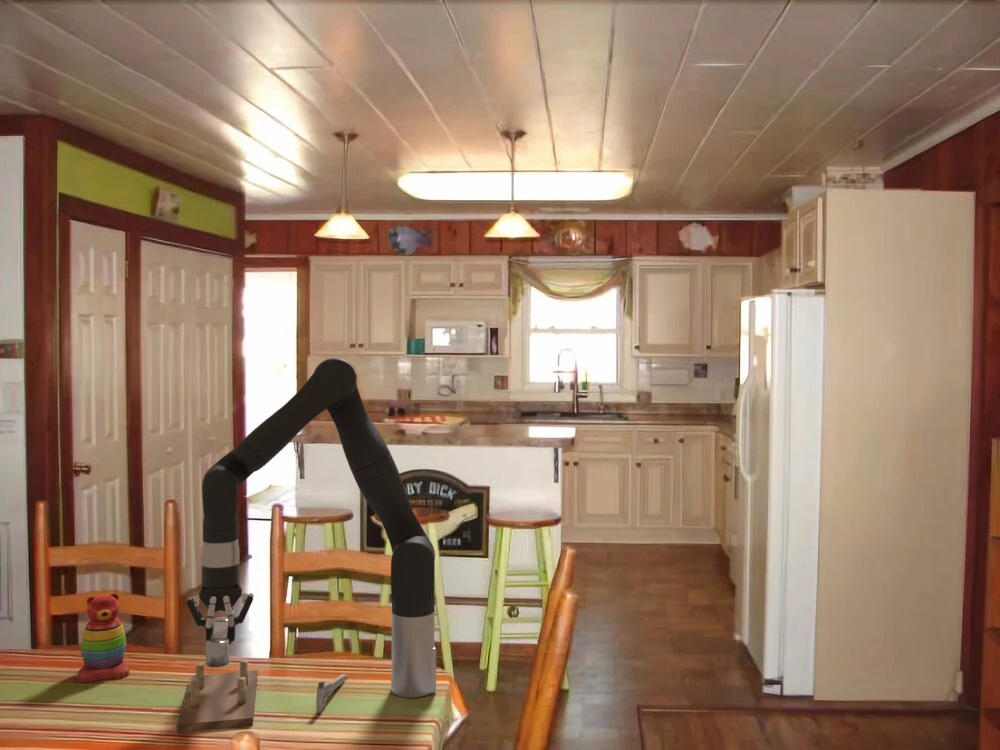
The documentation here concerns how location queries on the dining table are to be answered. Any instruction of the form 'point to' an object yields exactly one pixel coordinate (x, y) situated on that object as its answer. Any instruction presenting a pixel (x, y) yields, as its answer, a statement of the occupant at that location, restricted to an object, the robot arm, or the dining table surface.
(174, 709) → the dining table surface
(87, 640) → the stacking bear
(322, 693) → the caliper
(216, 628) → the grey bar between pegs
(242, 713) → the board
